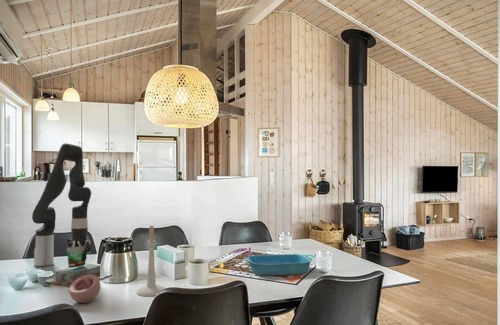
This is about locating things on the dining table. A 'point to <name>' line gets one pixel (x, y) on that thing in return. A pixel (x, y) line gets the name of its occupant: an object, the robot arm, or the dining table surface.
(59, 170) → the robot arm
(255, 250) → the dining table surface
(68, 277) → the plinth
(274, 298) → the dining table surface
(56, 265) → the dining table surface
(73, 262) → the food container
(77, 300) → the mortar and pestle
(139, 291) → the candlestick
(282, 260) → the casserole dish
